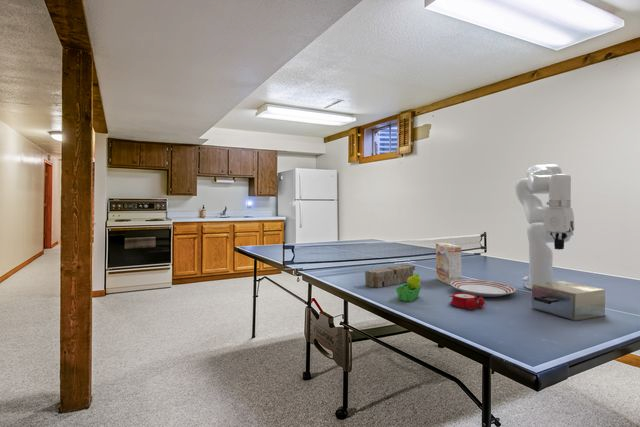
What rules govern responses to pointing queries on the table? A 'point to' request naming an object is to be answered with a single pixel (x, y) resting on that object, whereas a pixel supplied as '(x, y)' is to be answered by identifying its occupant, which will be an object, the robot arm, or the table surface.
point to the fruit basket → (409, 289)
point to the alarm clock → (467, 300)
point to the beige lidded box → (579, 298)
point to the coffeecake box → (448, 262)
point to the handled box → (553, 301)
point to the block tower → (388, 275)
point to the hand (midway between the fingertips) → (559, 249)
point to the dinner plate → (482, 288)
